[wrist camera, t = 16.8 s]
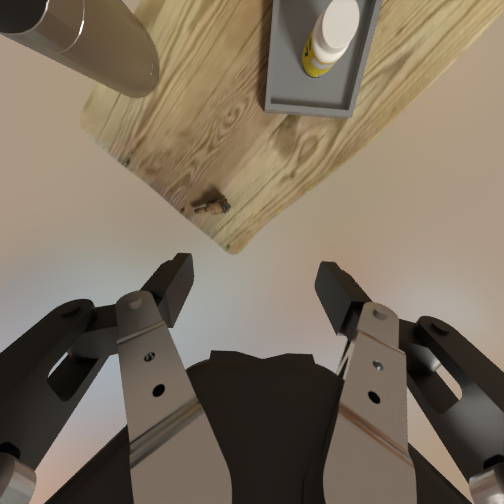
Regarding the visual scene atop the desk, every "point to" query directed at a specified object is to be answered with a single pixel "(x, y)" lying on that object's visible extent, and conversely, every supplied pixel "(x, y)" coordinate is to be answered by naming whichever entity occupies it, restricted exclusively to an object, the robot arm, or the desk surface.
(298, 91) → the tray
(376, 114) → the desk surface
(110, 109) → the desk surface
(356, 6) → the supplement bottle
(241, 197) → the desk surface
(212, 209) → the cat figurine
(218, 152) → the desk surface
